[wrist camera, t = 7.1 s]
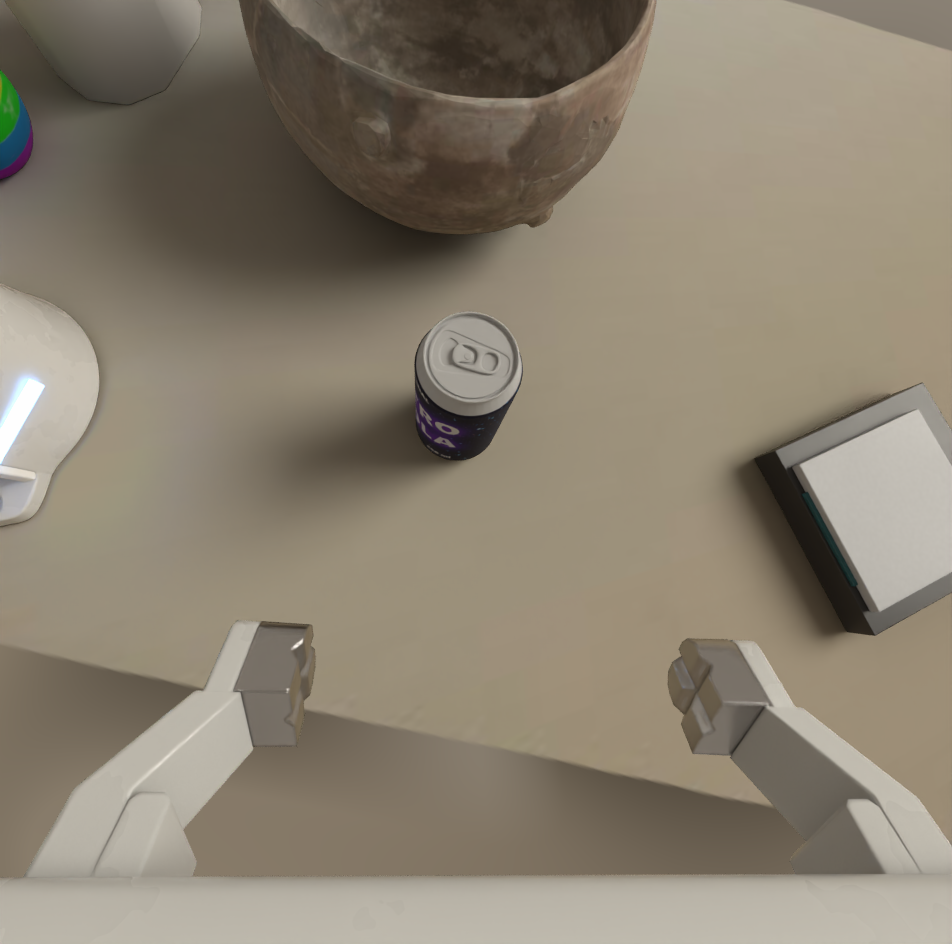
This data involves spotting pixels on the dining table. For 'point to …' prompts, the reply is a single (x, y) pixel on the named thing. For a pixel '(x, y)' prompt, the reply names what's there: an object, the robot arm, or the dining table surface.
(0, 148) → the decorative egg
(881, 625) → the scale
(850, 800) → the robot arm
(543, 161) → the bowl
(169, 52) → the toilet tissue
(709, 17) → the dining table surface
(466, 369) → the beverage can
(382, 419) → the dining table surface
